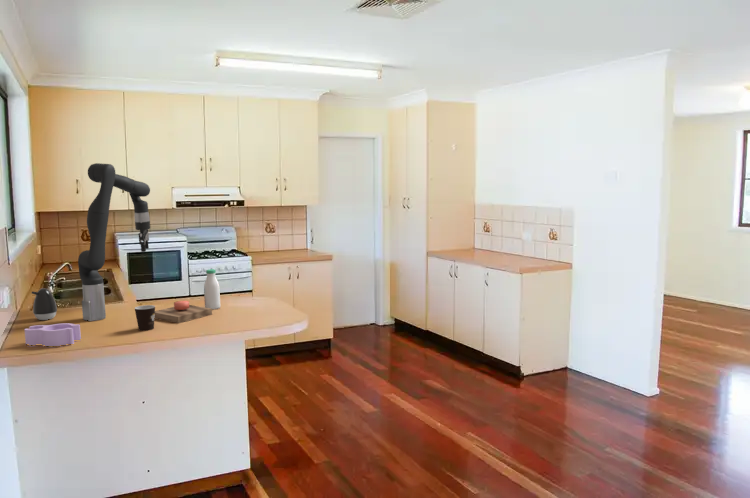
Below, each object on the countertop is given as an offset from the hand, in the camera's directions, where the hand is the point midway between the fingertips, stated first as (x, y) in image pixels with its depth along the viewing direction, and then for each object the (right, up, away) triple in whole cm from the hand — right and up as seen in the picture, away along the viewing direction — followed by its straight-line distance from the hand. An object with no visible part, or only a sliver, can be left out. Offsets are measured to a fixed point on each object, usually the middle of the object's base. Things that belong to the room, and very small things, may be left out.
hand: (145, 250), depth 330 cm
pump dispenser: (-36, -34, -34) cm, 60 cm away
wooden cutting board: (+30, -32, -33) cm, 55 cm away
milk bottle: (+41, -30, -16) cm, 53 cm away
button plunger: (+30, -28, -33) cm, 53 cm away
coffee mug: (+23, -35, -55) cm, 69 cm away
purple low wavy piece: (-9, -39, -77) cm, 86 cm away
